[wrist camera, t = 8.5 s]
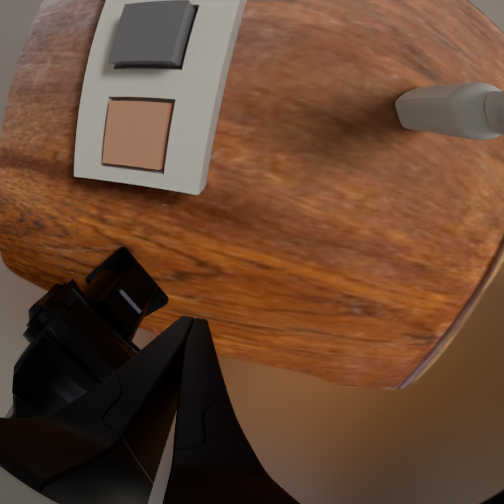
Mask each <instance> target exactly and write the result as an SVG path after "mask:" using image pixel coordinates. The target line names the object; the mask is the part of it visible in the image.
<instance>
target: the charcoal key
mask: <svg viewBox="0 0 504 504" xmlns="http://www.w3.org/2000/svg"><path fill="white" fill-rule="evenodd" d="M195 13H196V10H195V9H194V7H193V6H192V4H191V3H190V1H189V0H170V1H152V2H140V3H131V4H125V6H124V8H123V11H122V14H121V17H120V21H119V24H118V27H117V30H116V34H115V37H114V41H113V45H112V49H111V52H110V57H109V61H108V62H110V63H113V64H116V65H119V66H169V67H181V65H182V61H183V56H184V52H185V48H186V45H187V41H188V37H189V33H190V30H191V26H192V23H193V19H194V16H195Z"/></svg>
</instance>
